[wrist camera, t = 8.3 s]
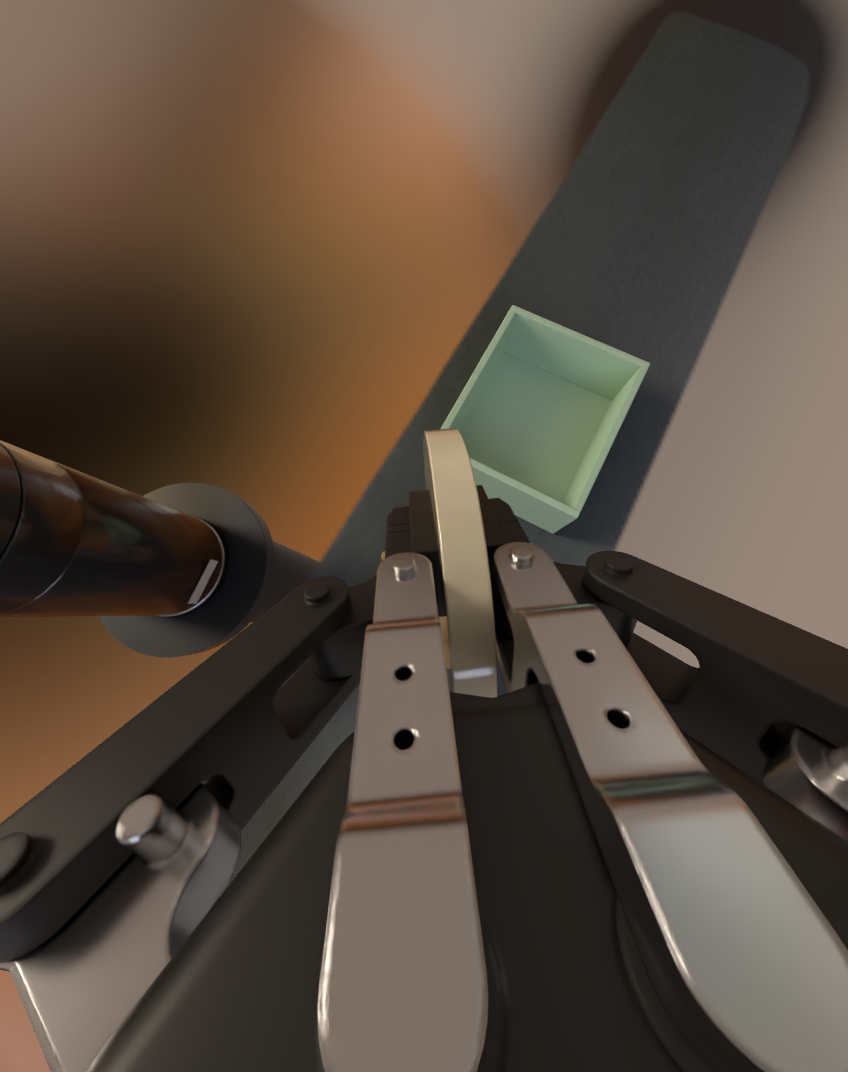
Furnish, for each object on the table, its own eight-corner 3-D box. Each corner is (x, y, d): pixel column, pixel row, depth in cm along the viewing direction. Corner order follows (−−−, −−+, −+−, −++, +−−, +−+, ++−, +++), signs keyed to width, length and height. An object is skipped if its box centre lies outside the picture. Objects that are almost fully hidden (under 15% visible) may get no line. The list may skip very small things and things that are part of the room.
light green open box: (552, 534, 32) (577, 518, 27) (430, 472, 34) (430, 445, 28) (616, 401, 35) (650, 363, 30) (500, 350, 37) (512, 304, 31)
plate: (445, 697, 16) (469, 826, 7) (424, 491, 18) (420, 354, 9) (466, 695, 16) (523, 821, 7) (444, 489, 18) (461, 350, 9)
